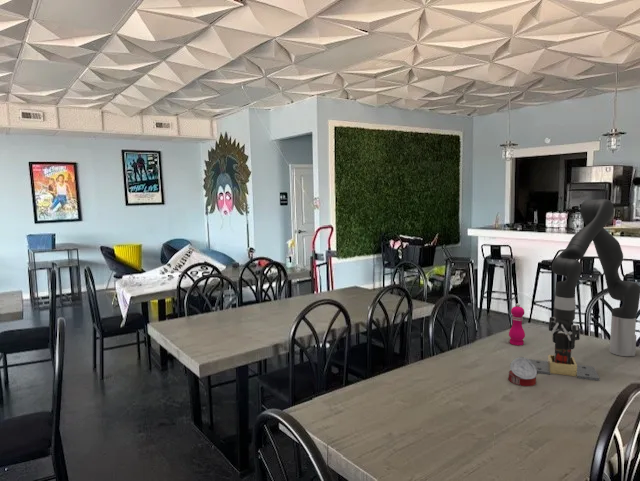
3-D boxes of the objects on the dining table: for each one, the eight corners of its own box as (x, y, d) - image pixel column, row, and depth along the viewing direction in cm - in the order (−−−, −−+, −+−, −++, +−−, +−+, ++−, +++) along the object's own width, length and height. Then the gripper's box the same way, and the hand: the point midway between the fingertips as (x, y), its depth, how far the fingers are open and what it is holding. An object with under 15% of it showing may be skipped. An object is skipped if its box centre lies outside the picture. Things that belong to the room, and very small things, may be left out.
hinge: (593, 368, 190) (593, 358, 189) (599, 380, 178) (599, 369, 177) (528, 361, 199) (528, 351, 199) (529, 372, 187) (529, 361, 187)
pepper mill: (526, 346, 218) (527, 305, 216) (510, 345, 219) (511, 304, 217) (522, 341, 225) (524, 301, 223) (507, 340, 226) (508, 301, 224)
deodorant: (550, 368, 191) (552, 333, 189) (564, 367, 192) (566, 332, 190) (559, 373, 185) (561, 337, 184) (573, 373, 186) (575, 337, 184)
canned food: (532, 390, 180) (547, 371, 177) (523, 396, 173) (538, 376, 170) (508, 371, 187) (521, 352, 184) (498, 375, 180) (512, 356, 176)
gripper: (586, 310, 179) (584, 350, 181) (559, 302, 193) (558, 339, 195) (570, 312, 178) (568, 352, 180) (544, 303, 192) (543, 341, 193)
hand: (563, 345), depth 187 cm, fingers open, 8 cm apart
